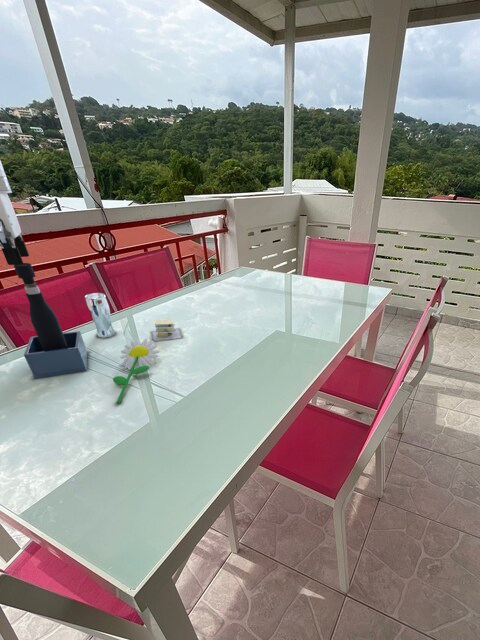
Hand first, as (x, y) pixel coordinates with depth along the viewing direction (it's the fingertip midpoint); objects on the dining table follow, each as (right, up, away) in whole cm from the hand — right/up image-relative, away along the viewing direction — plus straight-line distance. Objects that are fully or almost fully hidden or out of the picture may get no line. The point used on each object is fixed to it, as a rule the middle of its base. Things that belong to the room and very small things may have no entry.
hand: (19, 260), depth 89 cm
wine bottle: (-1, -26, +18) cm, 31 cm away
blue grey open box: (-1, -26, +18) cm, 32 cm away
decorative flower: (+24, -31, +15) cm, 41 cm away
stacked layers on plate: (+23, -12, +41) cm, 49 cm away
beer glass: (+1, -13, +39) cm, 41 cm away
